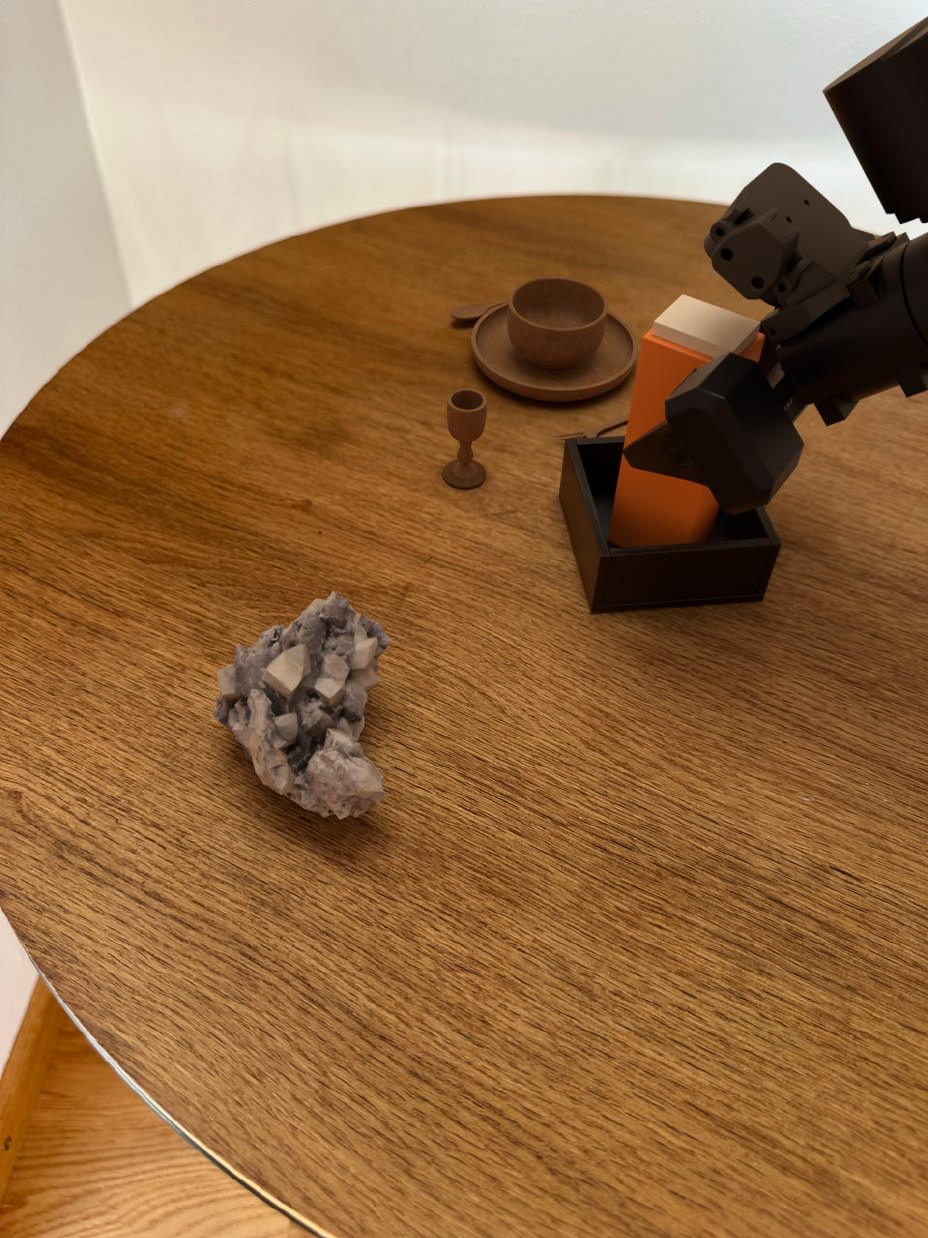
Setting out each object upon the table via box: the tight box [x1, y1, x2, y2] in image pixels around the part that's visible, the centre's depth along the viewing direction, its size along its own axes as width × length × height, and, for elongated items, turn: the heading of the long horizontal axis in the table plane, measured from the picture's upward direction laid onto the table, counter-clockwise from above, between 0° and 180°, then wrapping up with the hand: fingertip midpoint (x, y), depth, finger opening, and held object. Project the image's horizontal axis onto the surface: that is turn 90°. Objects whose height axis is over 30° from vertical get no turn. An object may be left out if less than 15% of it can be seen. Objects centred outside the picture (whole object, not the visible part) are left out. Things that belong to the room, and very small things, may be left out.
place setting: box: [442, 275, 639, 490], centre depth 74 cm, size 18×20×6 cm
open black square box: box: [558, 435, 782, 615], centre depth 64 cm, size 10×10×5 cm
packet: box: [608, 293, 765, 548], centre depth 59 cm, size 5×4×15 cm
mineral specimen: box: [210, 590, 393, 820], centre depth 52 cm, size 12×9×10 cm
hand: (668, 415), depth 59 cm, fingers open, 9 cm apart
